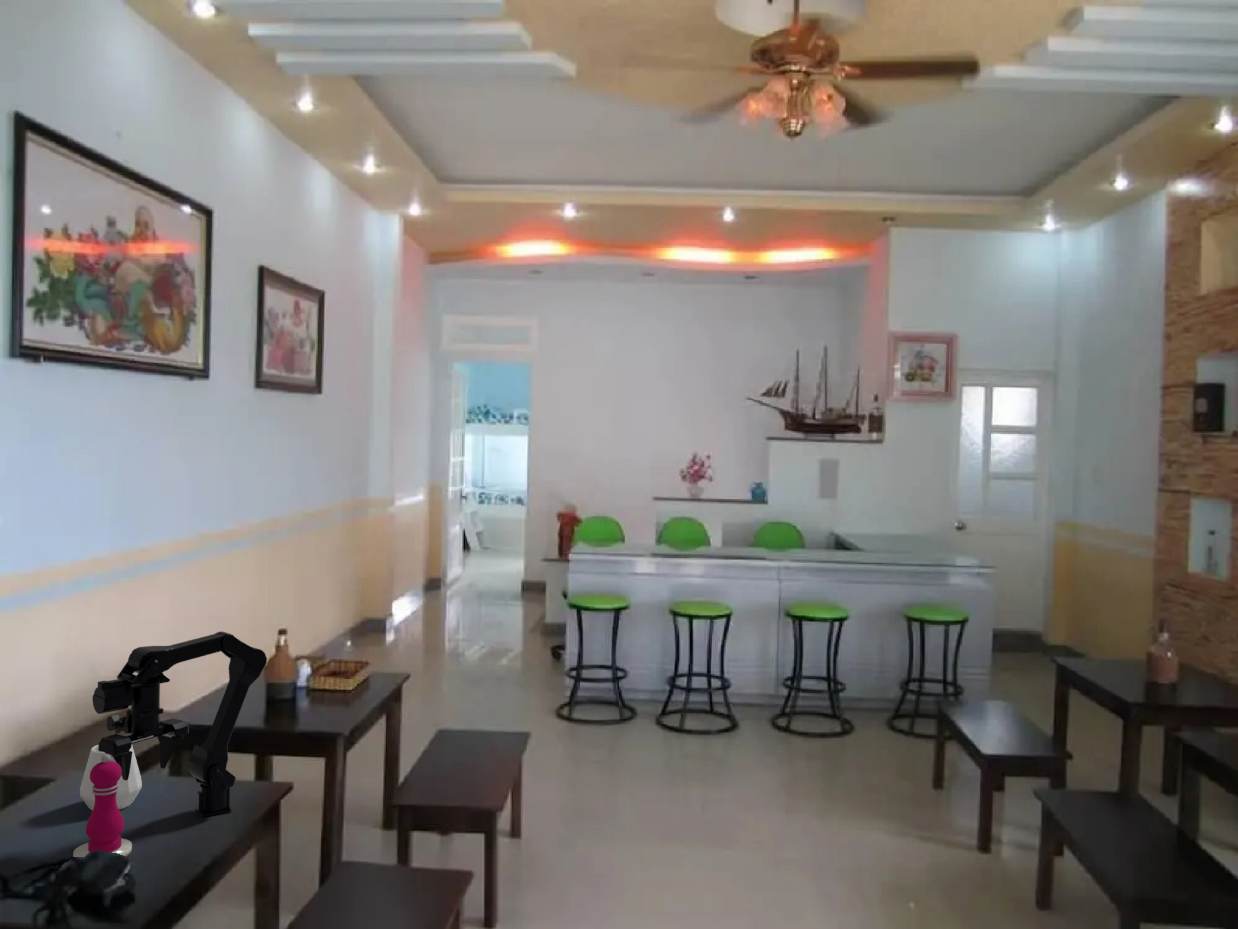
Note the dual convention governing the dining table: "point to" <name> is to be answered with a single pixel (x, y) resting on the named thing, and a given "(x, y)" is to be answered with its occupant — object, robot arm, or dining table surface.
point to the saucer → (123, 850)
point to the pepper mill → (105, 807)
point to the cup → (126, 788)
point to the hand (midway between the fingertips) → (144, 774)
